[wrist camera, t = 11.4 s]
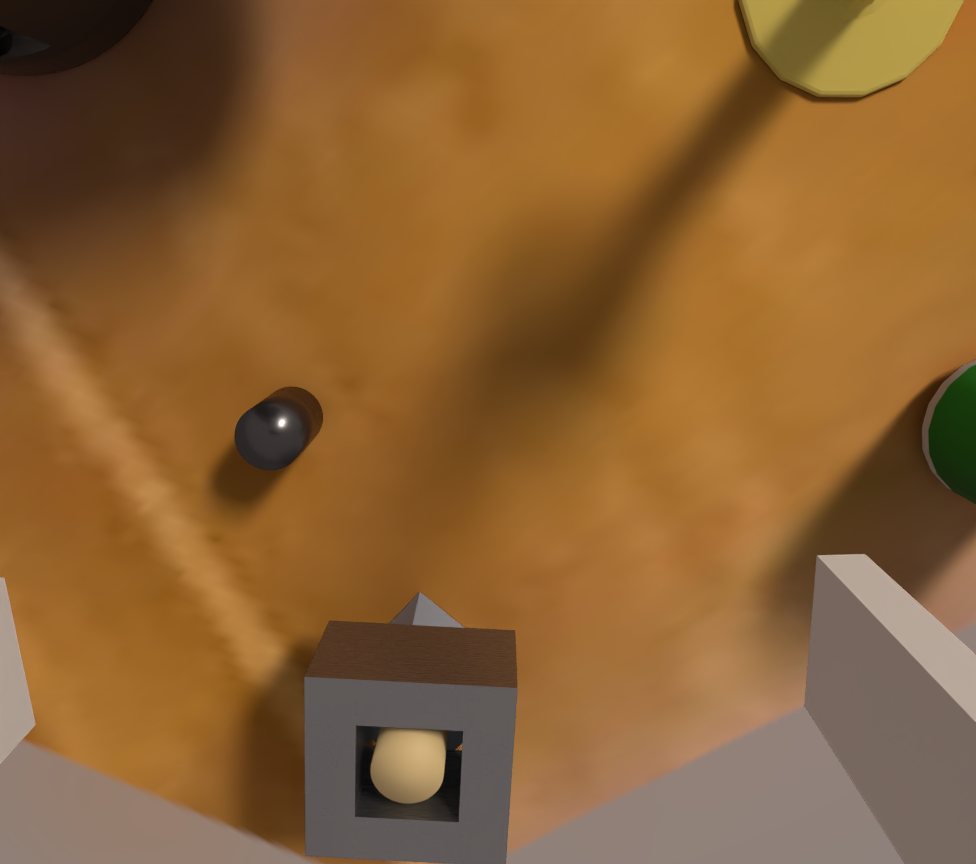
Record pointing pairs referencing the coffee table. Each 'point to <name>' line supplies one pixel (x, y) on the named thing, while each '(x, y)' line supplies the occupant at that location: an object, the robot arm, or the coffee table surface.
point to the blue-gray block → (413, 733)
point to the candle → (846, 40)
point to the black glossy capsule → (278, 428)
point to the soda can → (953, 432)
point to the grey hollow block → (420, 705)
